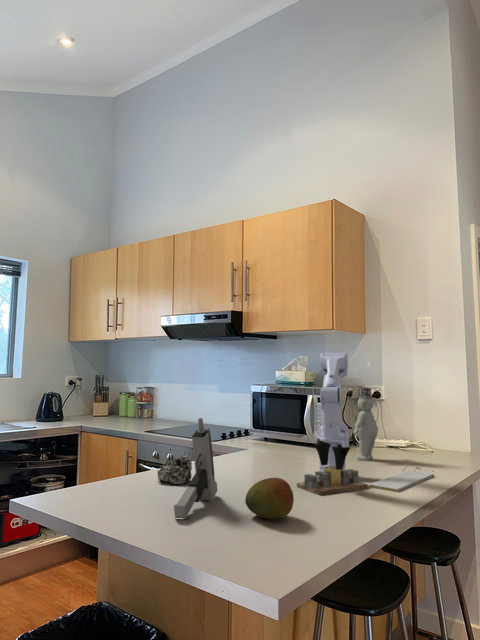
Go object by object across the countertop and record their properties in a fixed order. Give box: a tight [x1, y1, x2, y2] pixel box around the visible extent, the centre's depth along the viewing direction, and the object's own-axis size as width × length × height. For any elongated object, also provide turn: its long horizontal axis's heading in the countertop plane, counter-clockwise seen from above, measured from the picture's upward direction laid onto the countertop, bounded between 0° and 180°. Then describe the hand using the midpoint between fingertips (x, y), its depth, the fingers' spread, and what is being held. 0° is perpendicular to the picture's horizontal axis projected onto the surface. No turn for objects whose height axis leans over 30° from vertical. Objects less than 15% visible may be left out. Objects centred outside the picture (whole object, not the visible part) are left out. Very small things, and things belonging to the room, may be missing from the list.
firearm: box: [173, 417, 218, 519], centre depth 131 cm, size 4×24×25 cm
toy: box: [353, 387, 379, 462], centre depth 205 cm, size 18×9×30 cm, turn 136°
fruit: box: [245, 477, 294, 520], centre depth 122 cm, size 12×12×10 cm
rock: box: [157, 455, 193, 486], centre depth 162 cm, size 13×10×10 cm
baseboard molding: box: [368, 466, 435, 493], centre depth 164 cm, size 31×3×12 cm
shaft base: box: [296, 468, 369, 496], centre depth 154 cm, size 12×19×5 cm, turn 119°
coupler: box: [323, 466, 341, 486], centre depth 154 cm, size 4×4×5 cm
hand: (331, 467), depth 155 cm, fingers open, 7 cm apart
